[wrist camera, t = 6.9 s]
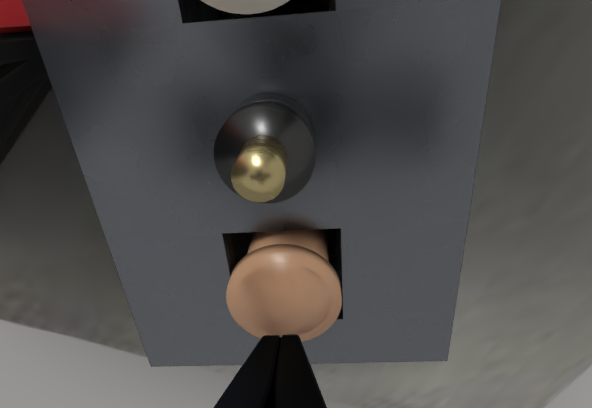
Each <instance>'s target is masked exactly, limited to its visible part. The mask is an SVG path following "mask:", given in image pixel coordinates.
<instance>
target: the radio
mask: <svg viewBox="0 0 592 408" xmlns="http://www.w3.org/2000/svg"><path fill="white" fill-rule="evenodd" d="M51 87H52V85H51V82H50V79H49V76H48V73H47V70H46V68H45V65H44V62H43V59H42V56H41V53H40V51H39V48H38V45H37V42H36V39H35V36H34V34H33V31H32V28H31V25H30V22H29V19H28V17H27V14H26V11H25V8H24V5H23V2H22V0H0V164H1V162H2V161H3V159H4V158H5V156H6V155H7V153H8V152H9V150H10V149H11V147H12V146H13V144H14V143H15V141H16V140H17V138H18V137H19V135H20V134H21V132H22V131H23V129H24V128H25V126H26V125H27V123H28V122H29V120H30V119H31V117H32V116H33V114H34V113H35V111H36V110H37V108H38V107H39V105H40V103H41V102H42V100H43V99H44V97H45V96H46V94H47V93H48V91H49V90H50V88H51Z"/></svg>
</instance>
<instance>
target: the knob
mask: <svg viewBox="0 0 592 408" xmlns="http://www.w3.org/2000/svg"><path fill="white" fill-rule="evenodd" d="M226 301H227V306H228V309H229V311H230V313H231V315H232V317H233V318H234V320H235V321H236V322H237V323H238V324H239V325H240V326H241V327H242V328H243V329H244V330H246V331H247V332H249V333H250V334H252V335H254V336H256V337H258V338H262V337H263V336H264V335H280V336H282V335H286V334H297V335H299V337H300V339H301V342H303V341H306V340H310V339H312V338H315V337H317V336H319V335H321V334H322V333H324V332H325V331H326V330H328V329H329V328H330V327H331V326H332V325H333V323H334V322H335V321H336V319H337V317H338V315H339V313H340V310H341V306H342V295H341V286H340V281H339V277H338V275H337V273H336V271H335V270H334V268H333V267H332V265H331V264H330V263H329V256H328V240H327V229H312V230H289V231H266V232H253V234H252V238H251V242H250V246H249V249H248V253H247V255H245V256H244V257H243V258H242V259H241V260H240V261H239V262H238V263H237V264H236V266H235V268H234V269H233V271H232V274H231V276H230V280H229V283H228V286H227V291H226Z"/></svg>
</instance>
